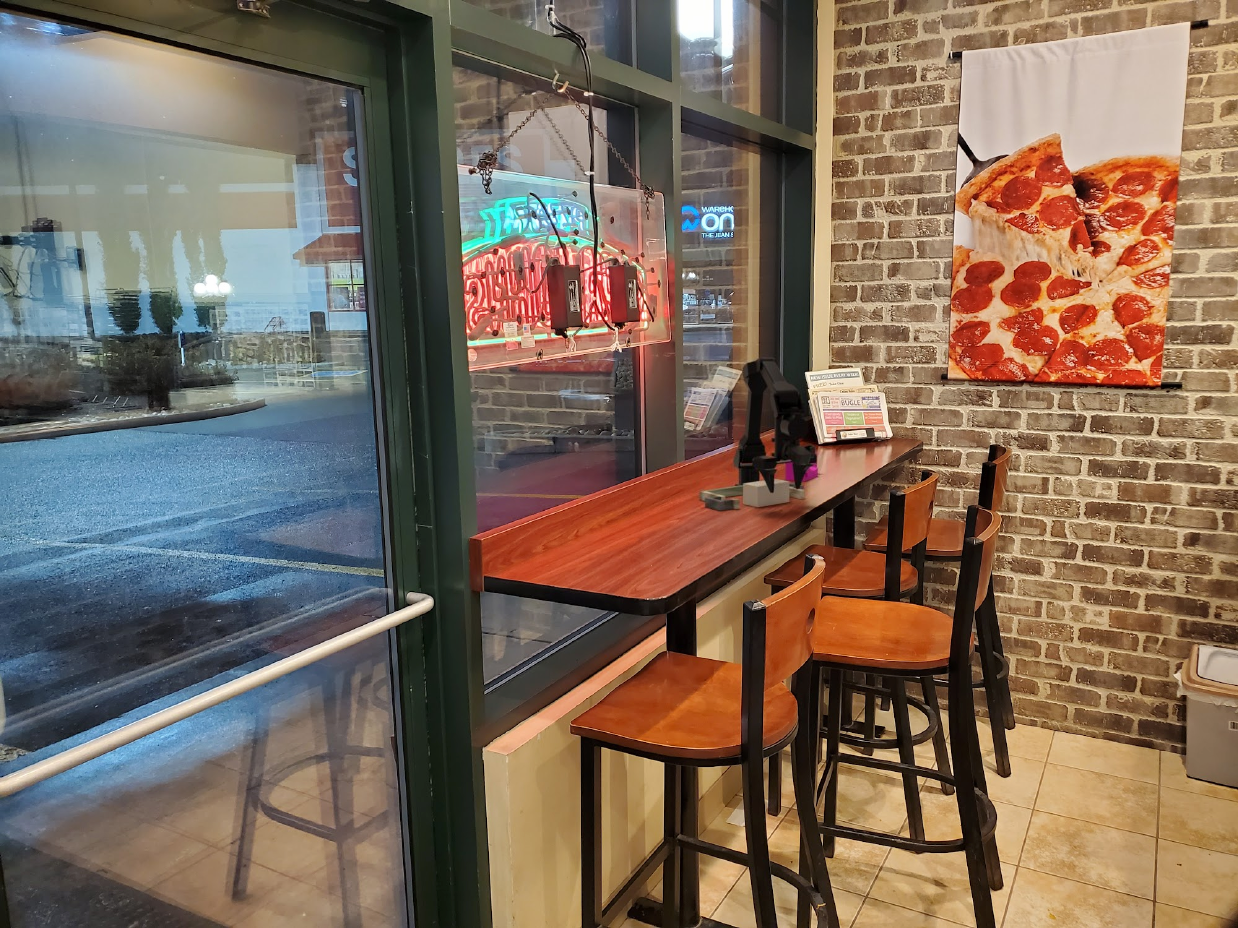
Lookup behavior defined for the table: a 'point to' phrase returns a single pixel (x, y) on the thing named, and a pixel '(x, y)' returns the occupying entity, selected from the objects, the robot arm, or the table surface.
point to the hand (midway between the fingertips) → (784, 490)
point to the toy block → (809, 474)
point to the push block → (765, 493)
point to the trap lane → (717, 496)
